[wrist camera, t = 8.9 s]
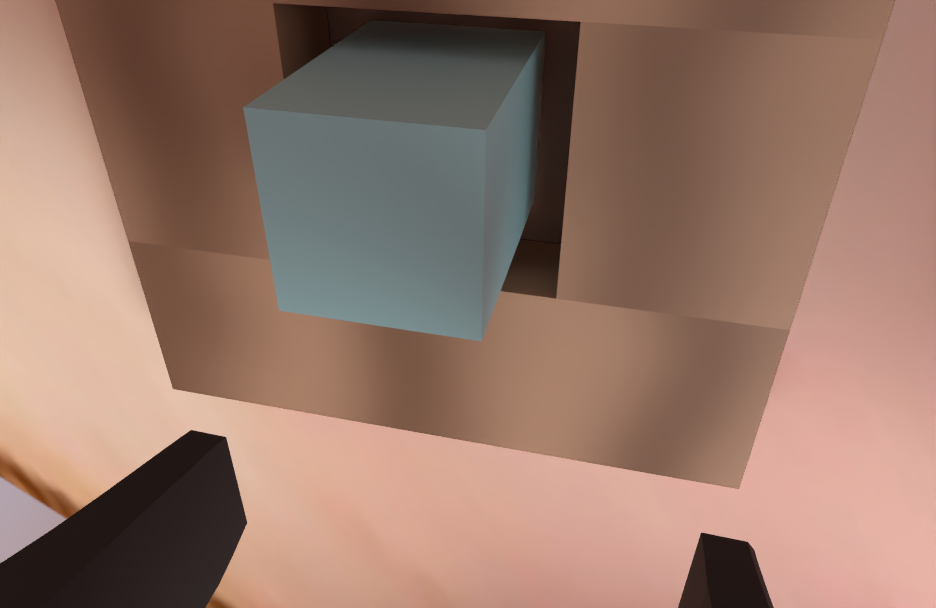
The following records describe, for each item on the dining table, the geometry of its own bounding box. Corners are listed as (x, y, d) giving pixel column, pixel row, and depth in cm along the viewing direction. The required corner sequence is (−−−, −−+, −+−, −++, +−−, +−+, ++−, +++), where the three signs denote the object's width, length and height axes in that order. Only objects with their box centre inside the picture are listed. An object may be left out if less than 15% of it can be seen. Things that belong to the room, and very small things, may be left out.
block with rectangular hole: (952, -336, 11) (1012, -368, 9) (733, 421, 20) (739, 488, 18) (58, -308, 14) (-44, -327, 12) (216, 338, 23) (173, 388, 21)
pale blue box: (545, 31, 16) (485, 130, 11) (535, 198, 18) (481, 341, 13) (371, 20, 16) (242, 106, 12) (382, 181, 19) (278, 310, 14)
